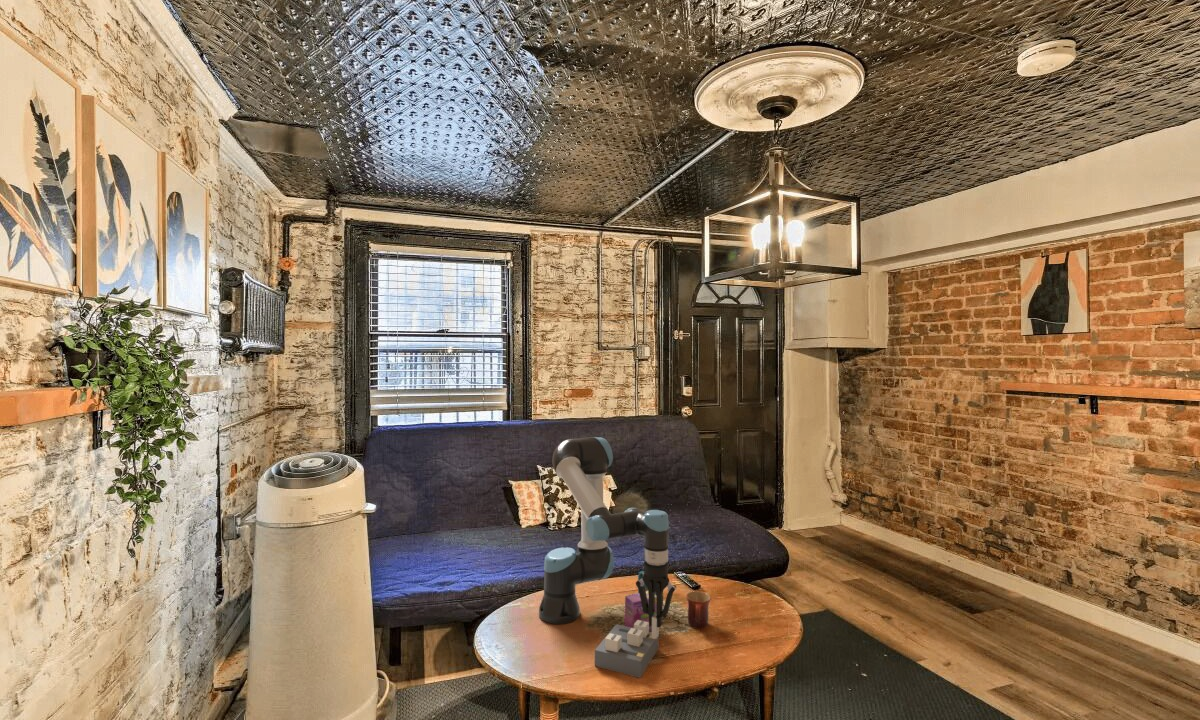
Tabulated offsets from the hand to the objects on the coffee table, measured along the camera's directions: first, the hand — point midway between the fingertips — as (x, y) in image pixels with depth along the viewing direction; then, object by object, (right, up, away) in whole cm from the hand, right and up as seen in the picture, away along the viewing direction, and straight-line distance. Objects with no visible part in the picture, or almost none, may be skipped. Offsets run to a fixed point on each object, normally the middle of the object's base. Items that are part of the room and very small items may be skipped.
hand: (655, 636), depth 172 cm
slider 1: (-13, -3, -1) cm, 14 cm away
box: (-3, -9, +22) cm, 24 cm away
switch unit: (-9, -9, +4) cm, 13 cm away
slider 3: (-6, -4, +3) cm, 8 cm away
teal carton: (+2, -9, +35) cm, 37 cm away
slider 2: (-4, -3, +8) cm, 10 cm away
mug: (+18, -9, +24) cm, 31 cm away
